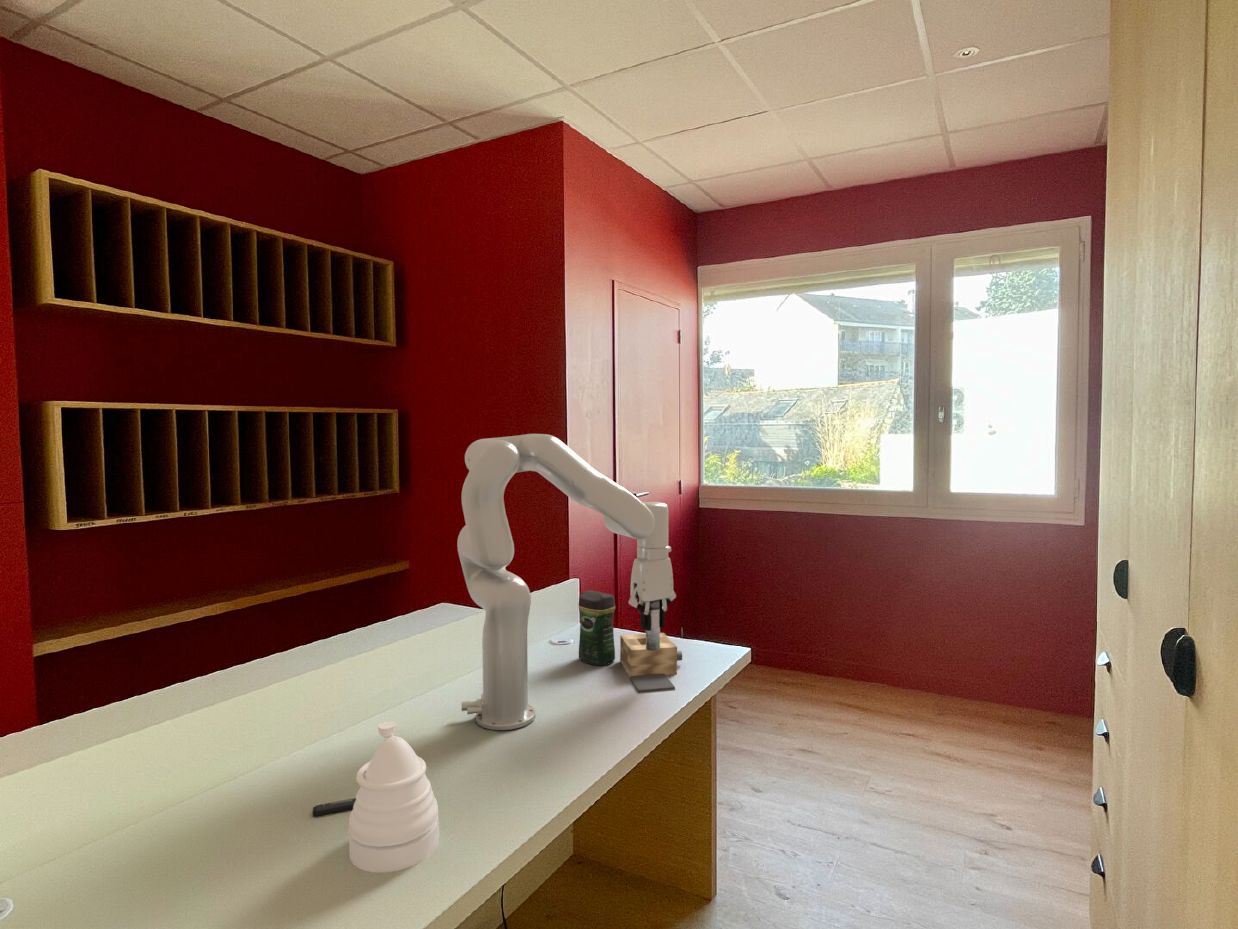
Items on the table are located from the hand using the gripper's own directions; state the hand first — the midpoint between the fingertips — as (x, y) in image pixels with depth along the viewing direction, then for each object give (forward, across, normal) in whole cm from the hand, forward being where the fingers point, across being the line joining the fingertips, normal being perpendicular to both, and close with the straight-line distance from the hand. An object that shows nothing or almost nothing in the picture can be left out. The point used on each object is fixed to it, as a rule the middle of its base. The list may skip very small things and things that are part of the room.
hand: (652, 627), depth 167 cm
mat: (+14, 0, 0) cm, 14 cm away
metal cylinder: (+5, 0, 0) cm, 5 cm away
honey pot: (+14, +70, +31) cm, 78 cm away
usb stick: (+14, +74, +16) cm, 78 cm away
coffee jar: (+14, +3, -21) cm, 26 cm away
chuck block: (+14, -7, -9) cm, 18 cm away
